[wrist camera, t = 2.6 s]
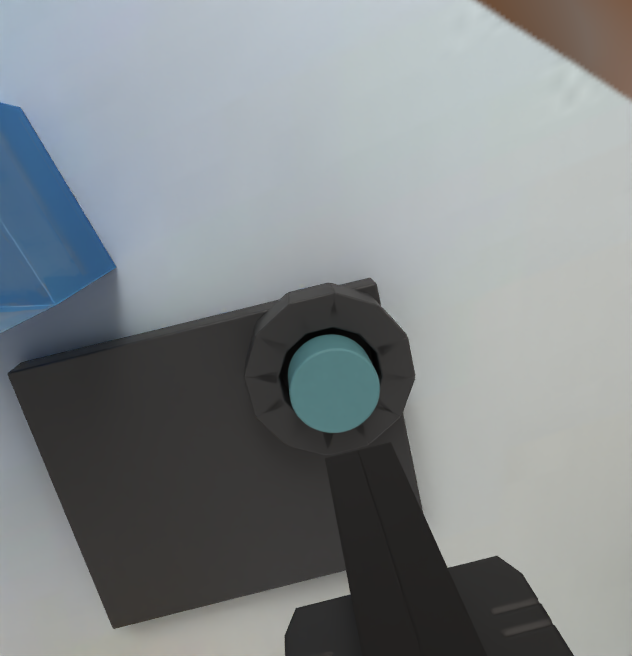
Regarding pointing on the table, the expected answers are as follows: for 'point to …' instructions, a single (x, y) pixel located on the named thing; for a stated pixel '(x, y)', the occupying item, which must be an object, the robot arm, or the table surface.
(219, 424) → the scale
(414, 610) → the robot arm
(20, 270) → the perfume bottle
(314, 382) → the button
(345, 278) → the table surface
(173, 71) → the table surface
